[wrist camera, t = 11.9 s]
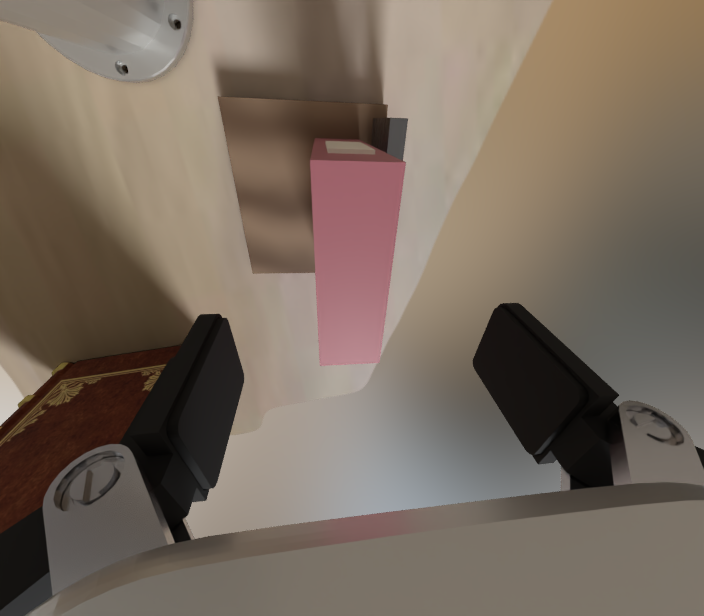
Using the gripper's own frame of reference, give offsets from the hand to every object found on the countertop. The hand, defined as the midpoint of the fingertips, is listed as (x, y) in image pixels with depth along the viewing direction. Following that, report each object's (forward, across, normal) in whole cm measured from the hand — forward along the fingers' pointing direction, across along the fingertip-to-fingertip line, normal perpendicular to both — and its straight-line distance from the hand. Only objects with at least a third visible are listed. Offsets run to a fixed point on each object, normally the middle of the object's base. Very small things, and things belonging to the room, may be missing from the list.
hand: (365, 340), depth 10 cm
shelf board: (+23, +2, 0) cm, 23 cm away
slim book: (+21, 0, +1) cm, 21 cm away
